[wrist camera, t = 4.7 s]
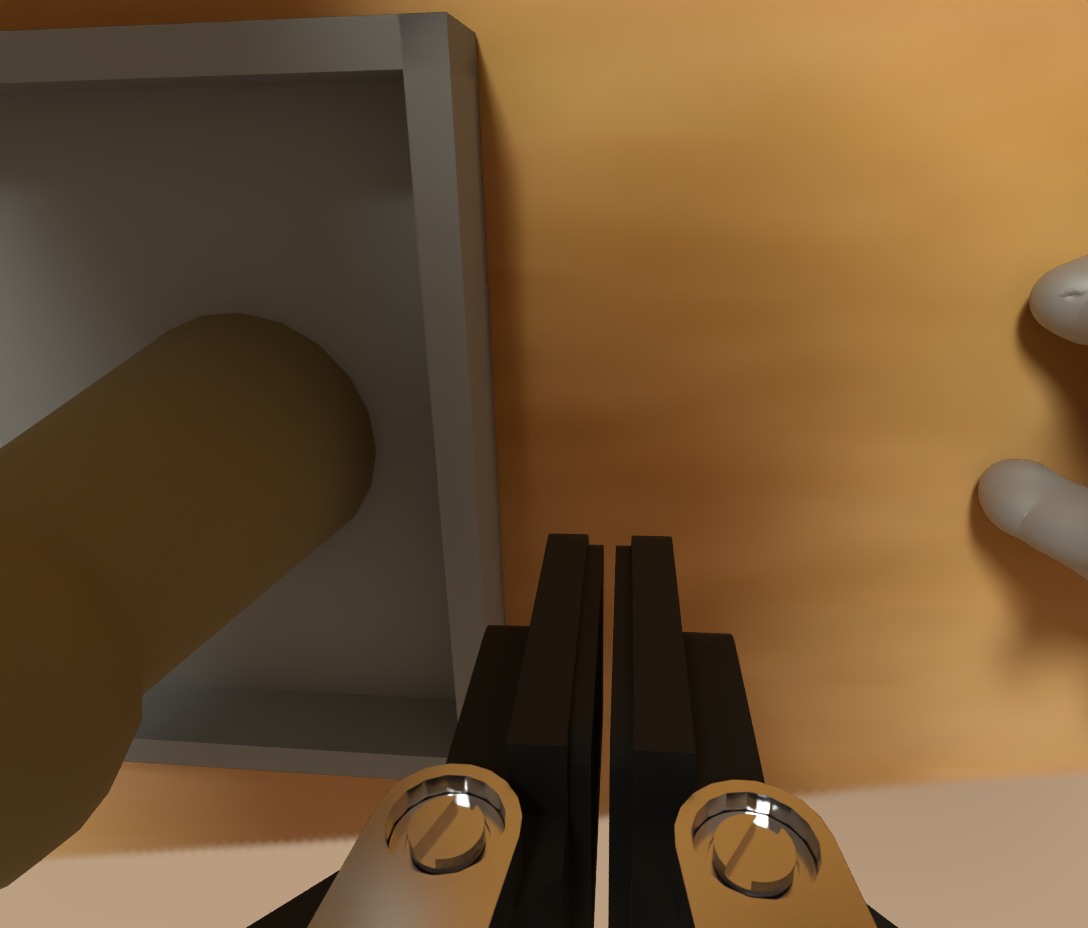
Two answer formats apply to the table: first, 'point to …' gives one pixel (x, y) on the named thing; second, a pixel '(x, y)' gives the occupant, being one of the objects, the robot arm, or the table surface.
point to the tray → (301, 304)
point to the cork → (153, 543)
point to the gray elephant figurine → (1029, 487)
